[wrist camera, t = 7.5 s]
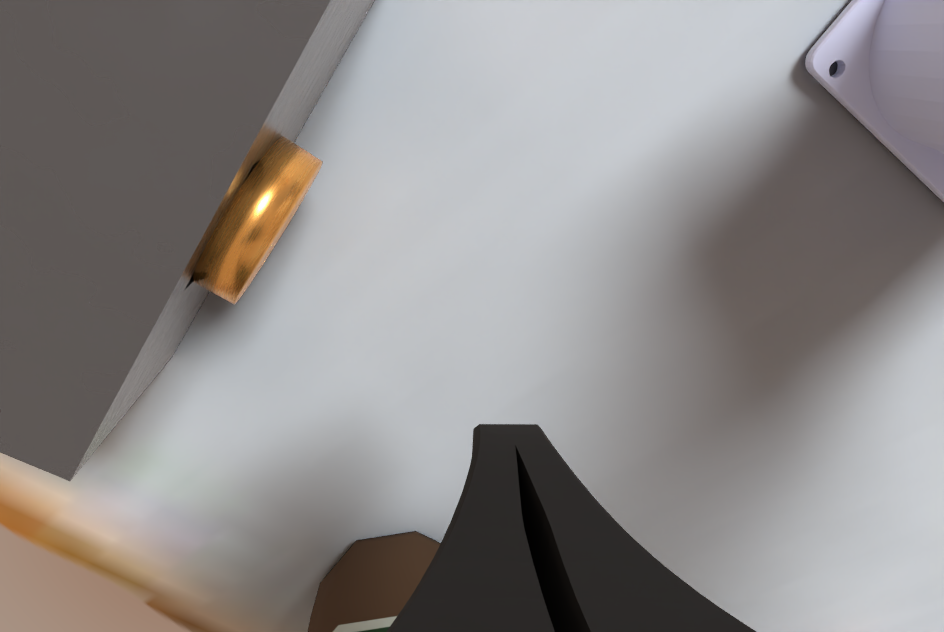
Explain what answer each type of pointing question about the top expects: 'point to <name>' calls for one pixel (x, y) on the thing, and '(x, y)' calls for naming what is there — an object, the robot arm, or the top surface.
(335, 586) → the beer bottle
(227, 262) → the pin
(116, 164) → the block
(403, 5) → the top surface
